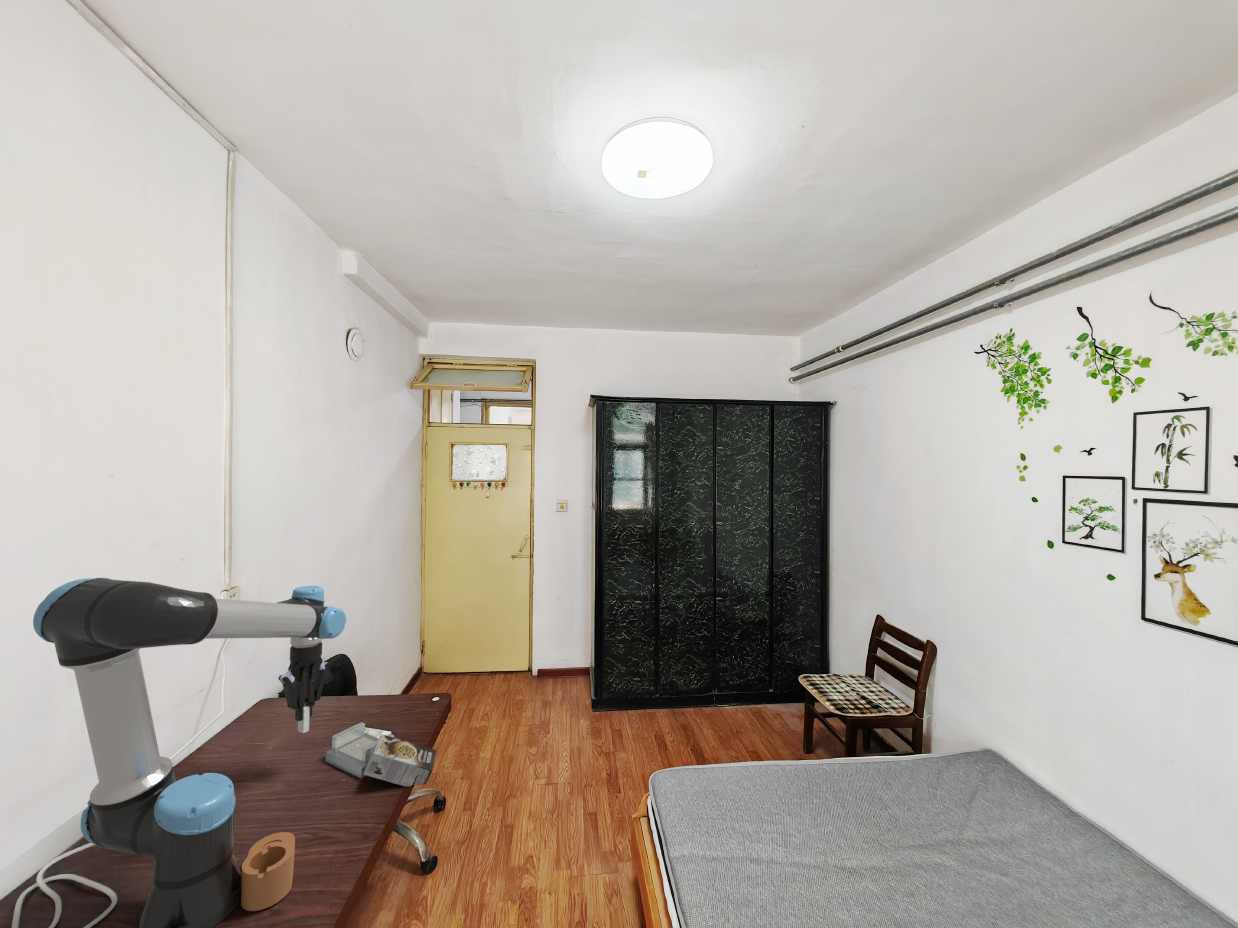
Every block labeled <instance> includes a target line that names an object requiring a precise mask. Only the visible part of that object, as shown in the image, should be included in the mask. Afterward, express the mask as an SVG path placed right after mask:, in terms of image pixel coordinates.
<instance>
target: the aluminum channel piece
mask: <svg viewBox="0 0 1238 928" xmlns="http://www.w3.org/2000/svg"><path fill="white" fill-rule="evenodd" d="M365 726H366V723H365V722H362V721H361V722H359V723H357V724H354V725H352V726H350V727H348V728H346V729H344V730H342V731H340V732H338V733H336V734H334V735H332V736H331V738H332V740H331V749H329V750H327V751H325V763H327V764H328V765H331V766H333V767H335V768H337V769H340V770H341V771H343V772H346V773H347V772H348V773H347V774H349V773H350V774H349V775H351V774H352V775H351V776H353V775H354V776H353V777H355V776H357V777H359V778H363V777H365V776H366V775H363V774H364V771H365V769H366V766H367V764H368V761H369V759H370V756H371V754H372V751H373V749H374V747H375V745H376V743H377V741H378V739H379V737H376V736H374V735H371V734H369V733H366V732H365ZM386 736H390V737H393V738H395V735H394V734H392V733H388V734H387V735H386ZM357 777H356V778H357ZM366 777H367V776H366ZM366 777H365V778H366ZM359 778H358V779H359ZM363 779H364V778H363Z"/></svg>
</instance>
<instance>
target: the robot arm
mask: <svg viewBox="0 0 1238 928" xmlns="http://www.w3.org/2000/svg"><path fill="white" fill-rule="evenodd" d="M325 601H326V600H325V590H324V588H323V587H322V586H320V585H306V586H305V585H304V586H300V587H295V589H293V590H292V594H291V598H289V599H285V600H282V601H278V602H270V601H269V602H268V601H267V602H265V601H256V600H255V601H254V600H253V601H252V600H242V599H241V600H240V599H225V598H217V597H216V596H214V595H213V594H211V593H210V592H203V591H202V592H201V591H193V590H187V589H182V588H179V587H173V586H169V585H164V584H159V583H154V582H151V581H136V580H135V581H134V580H133V581H132V580H121V579H120V580H119V579H112V578H108V577H94V578H89V577H88V578H80V579H76V580H72V581H68V582H67V583H64V584H61V585H60V586H58V587H56V588H55V589H54V590H52V591H50V592H49V594H48V595H46V597H45V598H44V599H43V601H41V602H40V603H39V604H38V606H37V607H36V609H35V612H34V615H33V618H32V626H33V630H34V632H35V634H36V635H38V636H39V637H40V638H41V639H42V640H44V641H45V642H47V643H52V644H54V648H55V652H56V656H57V659H58V664H59V666H60V667H62V668H66V669H71V670H72V671H73V672H74V676H75V680H76V684H77V688H78V689H77V690H78V693H79V698H80V703H81V707H82V712H83V716H84V721H85V725H86V729H87V730H86V731H87V735H88V739H89V743H90V747H91V753H92V755H93V756H92V757H93V761H94V766H95V770H96V775H97V779H98V783H97V784H96V785H95V786H94V787H93V789H92V790H91V792H90V794H89V800H88V802H87V803H86V805H87V807H86V808H85V809H84V810H83V811H82V814H81V817H80V825H79V826H80V832H81V834H82V836H83V838H84V839H85V840H86V841H87V842H89V843H90V844H93V845H94V846H97V847H98V848H101V849H105V850H113V851H119V852H124V853H129V854H133V855H134V854H135V855H139V856H143V857H148V858H152V859H153V885H152V888H151V890H150V892H149V895H148V897H147V901H146V903H145V906H144V909H143V911H142V913H141V915H140V916H141V917H140V919H139V928H214V927H215V926H217V925H218V924H219V923H221V922H222V921H223V920H225V919H226V918H227V917H229V915H230V914H231V913H232V912H233V911H234V910H235V908H236V907H237V906H238V904H240V903H241V882H242V869H241V868H240V866H239V864H238V862H237V860H236V857H235V854H234V838H235V837H234V836H235V815H236V814H235V813H236V812H235V811H236V802H237V801H236V796H235V787H234V784H233V781H232V780H231V779H230V777H228V776H226V775H224V774H221V773H217V772H204V773H202V774H201V775H200V774H198V773H196V774H192V775H188V776H186V777H183V778H180V779H178V780H177V779H176V777H175V772H174V767H173V762H172V760H171V758H168V757H165V756H161V755H160V749H159V745H158V741H157V735H156V730H155V725H154V720H153V715H152V714H153V713H152V710H151V705H150V701H149V700H150V699H149V695H148V690H147V685H146V680H145V674H144V669H143V666H142V665H143V664H142V660H141V655H140V650H141V649H145V648H146V649H147V648H159V647H167V646H168V647H169V646H183V645H187V646H188V645H196V644H198V643H201V642H202V641H204V640H205V639H210V640H211V639H213V640H214V639H278V638H281V639H283V638H284V639H285V638H287V639H288V638H290V645H291V646H290V648H289V661H290V663H289V666H288V668H287V671H286V672H285V673H284V674H283V675H282V674H281V675H279V676H278V677H277V678H278V681H280V683H281V684H282V688H283V693H284V697H285V702H286V705H287V708H289V709H291V710H294V711H295V713H294V714H295V715H294V719H295V721H297V732H298V733H299V732H300V733H302V734H305V733H307V732H309V731H310V718H311V717H312V716H313V707H314V706H315V705H316V702H318V701H320V700H321V697H322V692H323V690H324V689H323V688H324V685H325V681H326V677H327V673H328V671H329V669H330V668H331V663H330V662H327V661H323V658H322V656H323V642H322V641H323V640H324V639H327V640H328V639H329V640H331V639H335V638H337V637H338V636H340V635H341V634H342V632H343V631H344V629H345V627H346V621H347V615H346V612H345V611H344V610H343V609H342V608H339V607H334V606H326V605H325ZM292 677H293V678H294V683H295V684H294V685H295V686H293V681H292V680H293V678H292Z"/></svg>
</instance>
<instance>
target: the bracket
mask: <svg viewBox="0 0 1238 928" xmlns="http://www.w3.org/2000/svg"><path fill="white" fill-rule="evenodd" d="M295 854H296V837H295V834H293V833H291V832H287V831H280V832H275V833H272V834H269V835H266V836H265V837H263V838H260V839H259V840H258V841H256V842H255V843H254V844H253V845H252V846H251V847H250V849H249V850H248V853H247V857H246V858H245V859H244V860H243V862H242V864H241V872H242V882H241V900H240V907H242V909H243V910H245V911H249V912H257V911H262V910H264V909H268V908H270V907H272V906H274V905H276V904H277V903H279V902H280V901H282V900H283V899H284V898H285V897H286V896H287V895H288V894H289V892H290V891H291V889H292V887H293V879H294V878H293V877H294V866H295V865H294V864H295Z"/></svg>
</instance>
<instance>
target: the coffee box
mask: <svg viewBox="0 0 1238 928" xmlns="http://www.w3.org/2000/svg"><path fill="white" fill-rule="evenodd" d="M378 738H379V739H378V741H377V743H376V745H375V747H374V749H373V751H372V754H371V756H370V759H369V761H368V764H367V766H366V769H365V771H364V774H363V775H367V776H366V777H371V778H374V779H378V780H380V781H381V780H382V781H385V782H389V783H392V784H395V785H399V786H403V787H414V786H415V787H416V786H423V785H426V784H427V782H428V781H429V779H430V777H431V774H432V773H433V769H434V763H435V760H436V755H437V749H434V748H430V747H426V746H423V745H420V744H416V743H413V742H410V741H406V740H403V739H400V738H397V737H394V738H393V737H390V736H387V735H385V734H384V733H380V735H379V737H378ZM418 775H419V776H418ZM417 776H418V777H417ZM416 777H417V778H416ZM415 778H416V781H415ZM414 781H415V783H414V786H412V785H413V782H414Z"/></svg>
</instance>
